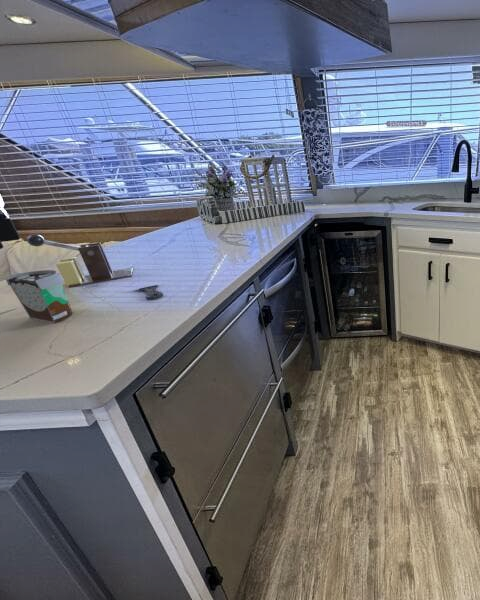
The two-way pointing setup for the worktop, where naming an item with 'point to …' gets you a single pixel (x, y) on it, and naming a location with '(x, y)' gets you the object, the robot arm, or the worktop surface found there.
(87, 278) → the slicer
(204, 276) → the worktop surface
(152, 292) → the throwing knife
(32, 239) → the lever
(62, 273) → the butter
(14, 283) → the food container
